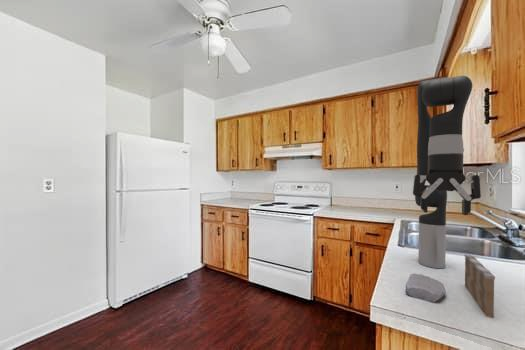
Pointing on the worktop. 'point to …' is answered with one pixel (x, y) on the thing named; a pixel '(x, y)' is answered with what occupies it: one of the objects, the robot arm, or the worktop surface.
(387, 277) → the worktop surface
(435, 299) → the stone block
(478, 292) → the walnut wall board
